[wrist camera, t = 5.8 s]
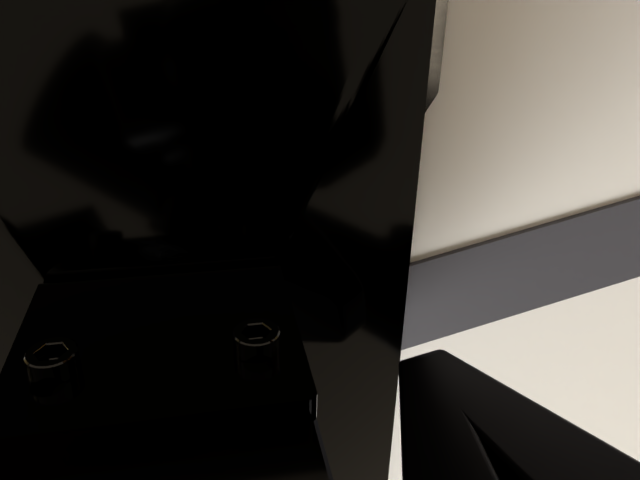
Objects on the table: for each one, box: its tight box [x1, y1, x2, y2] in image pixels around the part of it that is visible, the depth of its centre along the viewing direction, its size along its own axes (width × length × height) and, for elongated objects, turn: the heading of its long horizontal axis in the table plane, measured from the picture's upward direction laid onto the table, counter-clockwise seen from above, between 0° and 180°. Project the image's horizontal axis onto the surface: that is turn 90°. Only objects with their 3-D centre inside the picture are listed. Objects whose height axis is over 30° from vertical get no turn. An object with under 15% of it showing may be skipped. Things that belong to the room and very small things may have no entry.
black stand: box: [0, 0, 449, 480], centre depth 7 cm, size 12×7×5 cm, turn 179°
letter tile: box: [388, 0, 640, 480], centre depth 10 cm, size 16×16×1 cm
